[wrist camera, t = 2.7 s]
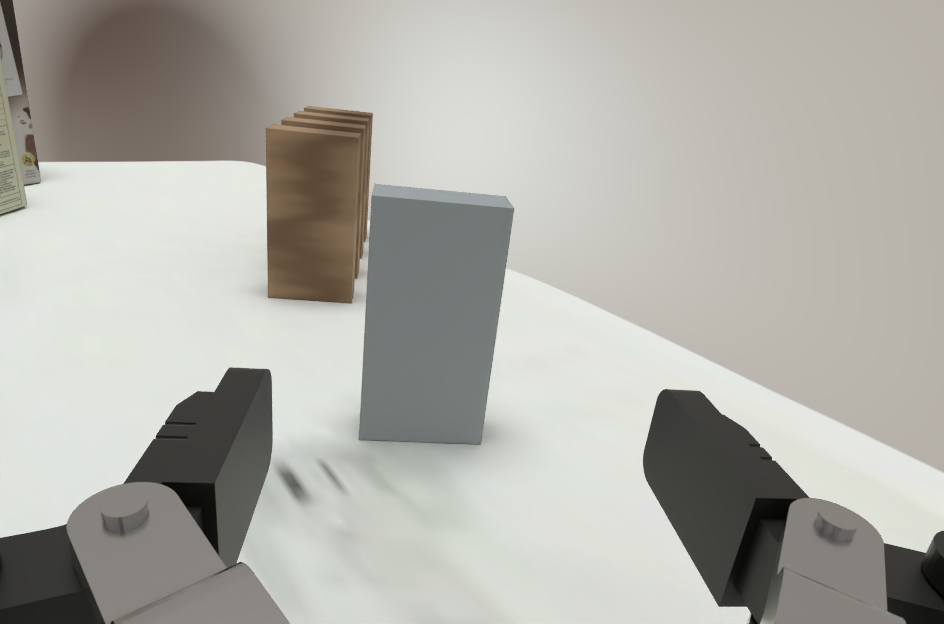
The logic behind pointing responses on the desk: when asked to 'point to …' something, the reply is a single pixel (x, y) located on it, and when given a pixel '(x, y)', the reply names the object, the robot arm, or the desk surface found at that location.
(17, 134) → the coffee box
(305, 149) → the walnut domino
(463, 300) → the grey domino
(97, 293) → the desk surface
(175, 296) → the desk surface
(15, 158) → the skincare box
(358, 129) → the walnut domino
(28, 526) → the desk surface
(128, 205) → the desk surface
